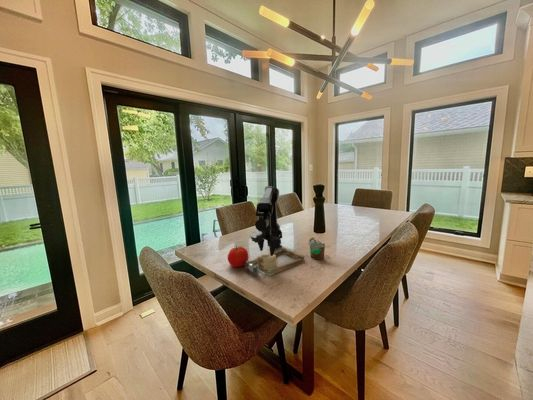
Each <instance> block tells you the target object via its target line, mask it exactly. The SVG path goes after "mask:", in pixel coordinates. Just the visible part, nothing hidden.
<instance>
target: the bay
mask: <svg viewBox="0 0 533 400" xmlns="http://www.w3.org/2000/svg"><path fill="white" fill-rule="evenodd" d="M280 248H281V249H280V250H277V251H276V250H275V252H274V255H276V257H277V256H280V255H285V256H288V257H290V258H291V259H292V258H293V259H294V260H292V261H290V262H287V263H284V264H282V265H280V266H278V267H277V266H275V267H272V268H270V269H267V270H266V272H264V271H262V269H261V270H260V269H259V270H258V272H259V273H262V274H263V275H264V276H265V275H267V276H268V277H271V276H273V275H276V274H278V273H280V272H283V271H285V270H288V269H290V268H293V267H294V266H297V265H300V264H302V263H304V262H305V256H304V255H301V254H299V253H297V252H295V251H292V250H290V249H287V248H285V247H280ZM249 262H250V263H252V264H253V265H255V264H256V265H258V257H256V258H253V259H250V260H249Z"/></svg>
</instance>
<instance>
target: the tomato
mask: <svg viewBox="0 0 533 400" xmlns="http://www.w3.org/2000/svg"><path fill="white" fill-rule="evenodd" d="M247 260H248V261H249V254H248V250H247V249H246V248H245V247H243V246H237V245H236V246H235V247H232V248H231V249H230V250H229V252H228V255H227V263H229V264H230V266H231V267H233V268H239V267H243V266H245V261H247Z"/></svg>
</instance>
